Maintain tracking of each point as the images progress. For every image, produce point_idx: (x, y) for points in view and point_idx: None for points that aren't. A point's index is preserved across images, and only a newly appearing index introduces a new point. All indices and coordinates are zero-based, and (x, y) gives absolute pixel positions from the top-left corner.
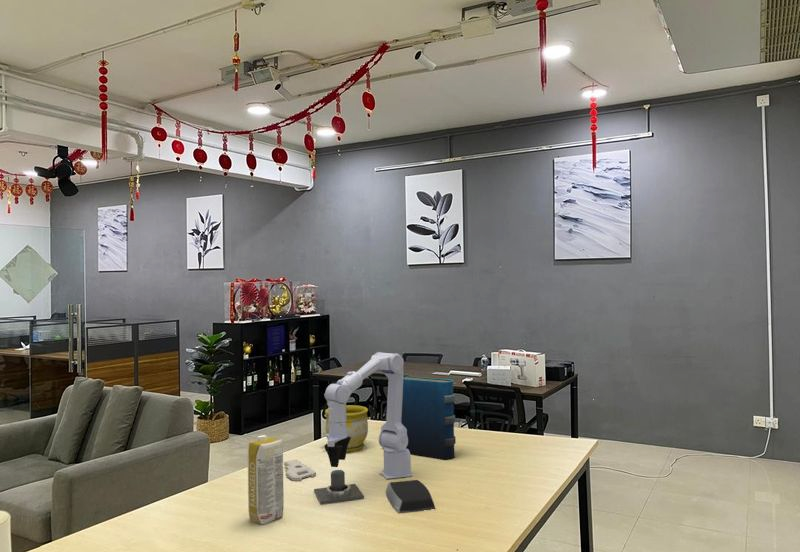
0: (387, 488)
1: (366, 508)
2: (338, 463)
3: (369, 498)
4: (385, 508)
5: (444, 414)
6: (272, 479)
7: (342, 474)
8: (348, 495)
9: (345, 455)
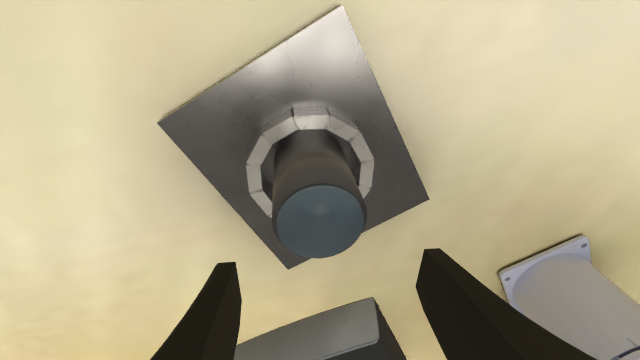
0: (349, 326)
1: (197, 291)
2: (235, 328)
3: (296, 273)
4: None
5: None
6: None
7: (297, 253)
8: None
9: (434, 322)
